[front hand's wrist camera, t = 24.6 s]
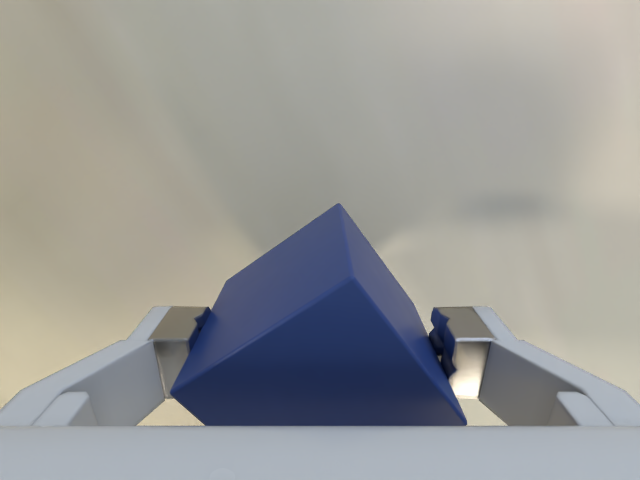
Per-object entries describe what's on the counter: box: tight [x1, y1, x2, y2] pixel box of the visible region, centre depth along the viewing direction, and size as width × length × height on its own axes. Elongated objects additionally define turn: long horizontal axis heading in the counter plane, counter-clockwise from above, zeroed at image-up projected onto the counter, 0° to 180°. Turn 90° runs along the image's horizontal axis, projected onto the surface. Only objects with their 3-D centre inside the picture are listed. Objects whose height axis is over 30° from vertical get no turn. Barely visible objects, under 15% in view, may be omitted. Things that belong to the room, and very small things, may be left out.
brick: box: [170, 204, 467, 426], centre depth 10 cm, size 4×5×5 cm
